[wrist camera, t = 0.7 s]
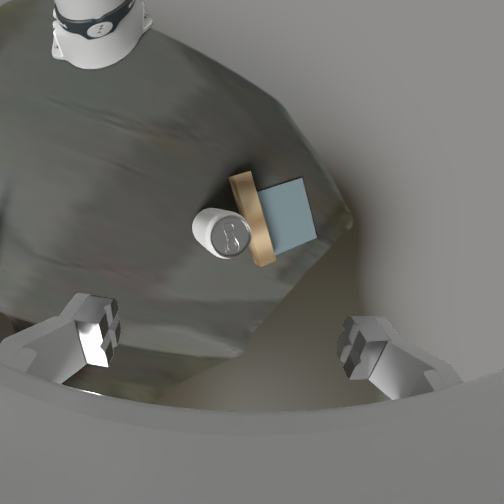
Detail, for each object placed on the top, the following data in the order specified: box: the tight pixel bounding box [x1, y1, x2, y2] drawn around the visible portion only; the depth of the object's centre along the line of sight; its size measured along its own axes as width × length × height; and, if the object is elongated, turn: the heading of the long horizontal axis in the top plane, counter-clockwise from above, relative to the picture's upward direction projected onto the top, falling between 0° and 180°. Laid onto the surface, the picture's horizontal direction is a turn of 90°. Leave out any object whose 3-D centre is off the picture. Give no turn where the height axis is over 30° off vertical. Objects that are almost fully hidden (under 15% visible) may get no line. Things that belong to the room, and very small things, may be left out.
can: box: [192, 208, 252, 259], centre depth 43 cm, size 6×6×12 cm
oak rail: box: [228, 171, 276, 267], centre depth 50 cm, size 16×3×3 cm, turn 17°
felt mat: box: [257, 178, 317, 255], centre depth 53 cm, size 12×10×1 cm
